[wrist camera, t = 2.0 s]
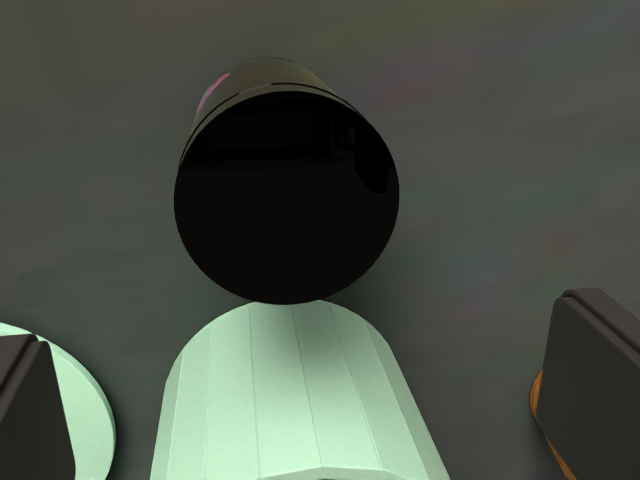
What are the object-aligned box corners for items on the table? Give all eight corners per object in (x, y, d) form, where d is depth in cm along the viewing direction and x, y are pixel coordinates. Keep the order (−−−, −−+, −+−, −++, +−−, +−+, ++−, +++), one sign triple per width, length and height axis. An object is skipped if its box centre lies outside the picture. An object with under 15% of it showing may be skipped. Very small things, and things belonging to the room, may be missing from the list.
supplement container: (231, 25, 25) (232, 44, 15) (366, 96, 27) (441, 153, 17) (169, 164, 27) (136, 258, 17) (300, 221, 29) (335, 334, 19)
